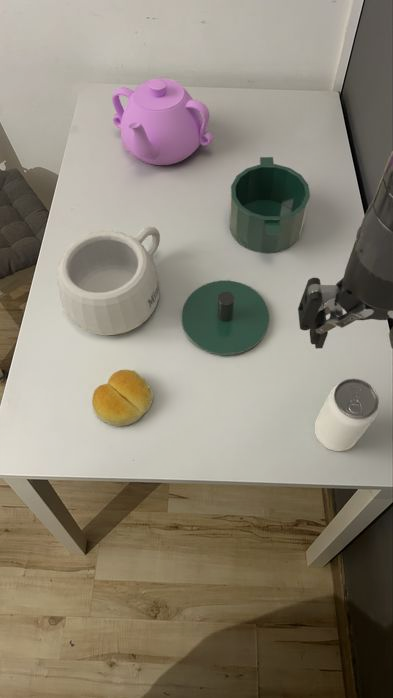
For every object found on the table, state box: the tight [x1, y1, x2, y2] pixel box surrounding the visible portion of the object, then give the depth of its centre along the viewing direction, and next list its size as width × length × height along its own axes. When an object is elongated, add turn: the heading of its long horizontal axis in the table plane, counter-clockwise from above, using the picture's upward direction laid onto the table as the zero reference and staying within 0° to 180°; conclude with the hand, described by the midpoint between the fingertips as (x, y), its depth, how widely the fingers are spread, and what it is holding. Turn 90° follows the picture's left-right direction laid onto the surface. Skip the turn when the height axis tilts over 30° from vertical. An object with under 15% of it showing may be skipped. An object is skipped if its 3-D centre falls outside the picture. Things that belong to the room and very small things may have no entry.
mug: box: [56, 226, 161, 336], centre depth 83 cm, size 21×17×10 cm
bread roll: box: [91, 369, 154, 427], centre depth 76 cm, size 8×9×4 cm
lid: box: [181, 280, 270, 356], centre depth 82 cm, size 15×15×6 cm
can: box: [314, 378, 380, 452], centre depth 69 cm, size 6×6×12 cm
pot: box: [229, 156, 311, 254], centre depth 91 cm, size 14×19×8 cm
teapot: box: [111, 78, 214, 166], centre depth 99 cm, size 22×22×14 cm
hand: (355, 341), depth 57 cm, fingers open, 8 cm apart
